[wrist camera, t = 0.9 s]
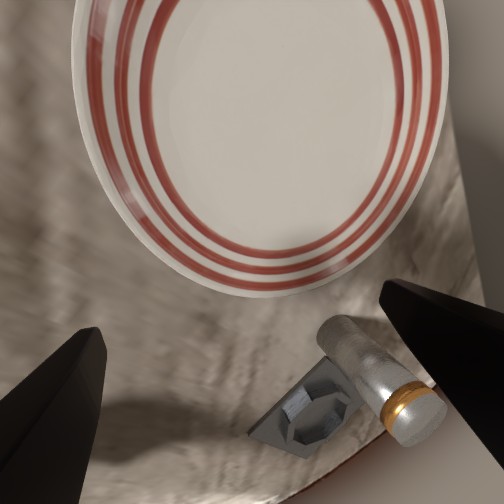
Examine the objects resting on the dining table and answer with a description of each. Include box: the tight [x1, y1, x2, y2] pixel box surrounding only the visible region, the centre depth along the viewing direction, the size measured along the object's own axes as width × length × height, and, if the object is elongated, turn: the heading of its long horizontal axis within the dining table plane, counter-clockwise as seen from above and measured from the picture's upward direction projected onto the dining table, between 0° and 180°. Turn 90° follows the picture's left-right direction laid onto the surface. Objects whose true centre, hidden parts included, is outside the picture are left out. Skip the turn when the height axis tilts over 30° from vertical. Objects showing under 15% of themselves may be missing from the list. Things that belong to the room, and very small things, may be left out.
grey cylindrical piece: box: [317, 315, 447, 447], centre depth 26 cm, size 5×5×12 cm
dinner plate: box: [71, 0, 449, 298], centre depth 19 cm, size 28×27×3 cm
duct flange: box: [247, 356, 365, 459], centre depth 36 cm, size 14×14×2 cm
